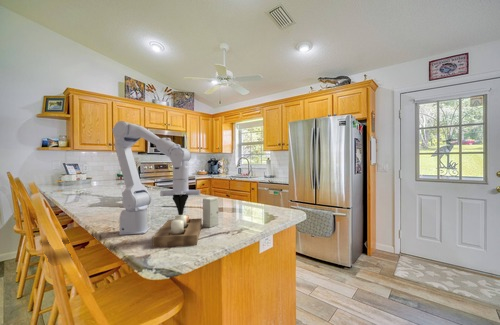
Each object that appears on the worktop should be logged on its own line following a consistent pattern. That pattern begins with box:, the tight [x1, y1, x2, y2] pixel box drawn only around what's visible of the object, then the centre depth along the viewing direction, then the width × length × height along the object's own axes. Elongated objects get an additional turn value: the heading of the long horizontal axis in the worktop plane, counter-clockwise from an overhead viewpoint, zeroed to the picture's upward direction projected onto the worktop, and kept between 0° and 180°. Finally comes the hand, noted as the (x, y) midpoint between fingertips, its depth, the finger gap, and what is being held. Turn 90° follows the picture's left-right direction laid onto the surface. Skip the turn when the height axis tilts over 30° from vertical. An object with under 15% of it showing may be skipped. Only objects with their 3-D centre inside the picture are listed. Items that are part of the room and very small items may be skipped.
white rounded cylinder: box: [171, 219, 184, 234], centre depth 76 cm, size 4×4×4 cm
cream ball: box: [174, 214, 187, 227], centre depth 83 cm, size 4×4×4 cm
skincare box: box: [202, 196, 219, 228], centre depth 95 cm, size 6×4×12 cm
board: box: [152, 217, 203, 248], centre depth 83 cm, size 14×22×3 cm, turn 9°
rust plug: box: [185, 214, 190, 223], centre depth 90 cm, size 4×4×4 cm
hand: (180, 214), depth 83 cm, fingers closed
